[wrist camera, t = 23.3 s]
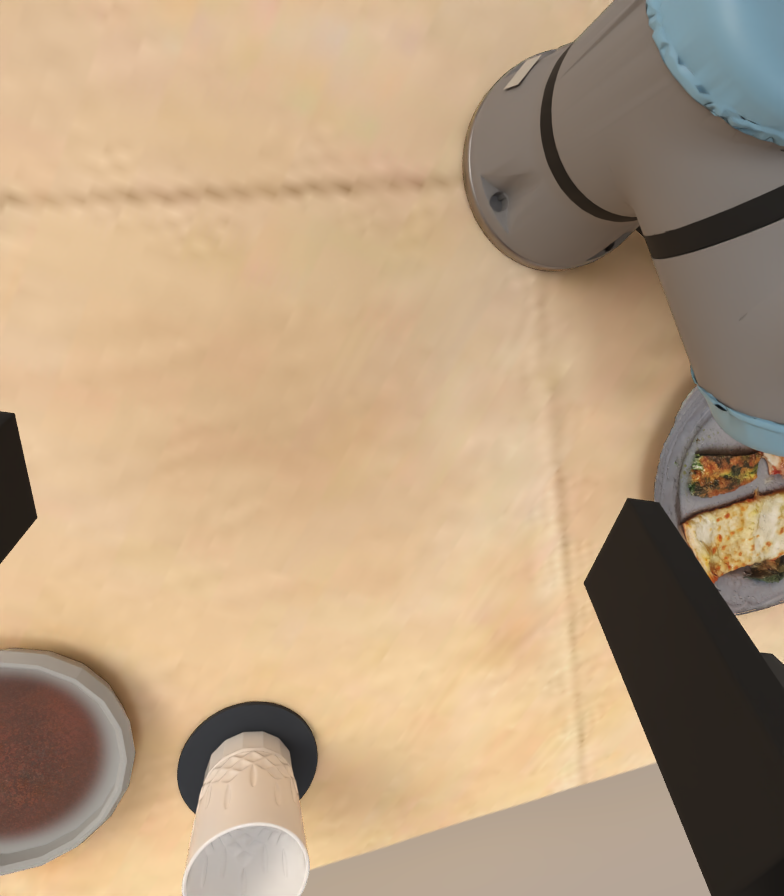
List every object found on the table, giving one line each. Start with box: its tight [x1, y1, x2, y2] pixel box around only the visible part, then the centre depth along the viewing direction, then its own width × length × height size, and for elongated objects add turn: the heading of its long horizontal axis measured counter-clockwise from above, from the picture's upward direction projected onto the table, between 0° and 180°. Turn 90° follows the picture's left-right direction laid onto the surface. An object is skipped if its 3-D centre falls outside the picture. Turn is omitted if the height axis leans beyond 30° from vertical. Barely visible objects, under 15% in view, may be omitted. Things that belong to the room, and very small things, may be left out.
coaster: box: [177, 702, 317, 814], centre depth 45 cm, size 11×11×1 cm
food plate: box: [654, 386, 784, 616], centre depth 51 cm, size 25×23×4 cm
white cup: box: [182, 731, 310, 896], centre depth 40 cm, size 8×8×10 cm
